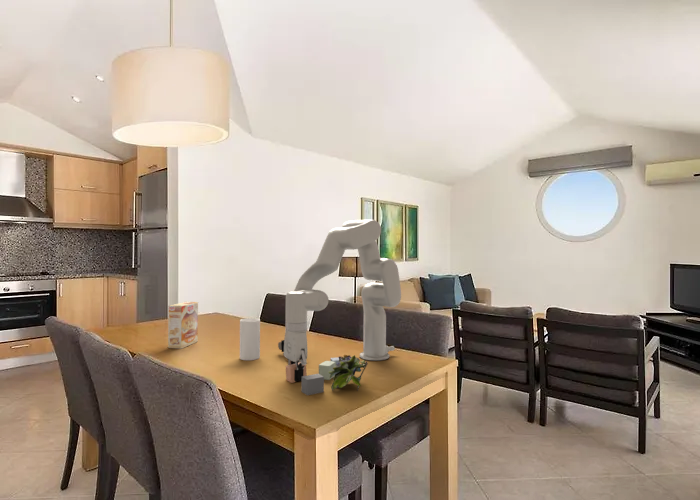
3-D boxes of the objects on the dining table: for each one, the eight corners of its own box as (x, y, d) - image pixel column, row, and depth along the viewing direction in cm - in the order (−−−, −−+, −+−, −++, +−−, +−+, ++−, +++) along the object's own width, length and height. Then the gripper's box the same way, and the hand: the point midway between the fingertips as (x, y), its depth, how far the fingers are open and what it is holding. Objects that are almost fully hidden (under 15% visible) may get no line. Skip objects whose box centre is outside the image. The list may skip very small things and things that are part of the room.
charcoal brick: (317, 388, 140) (317, 373, 140) (323, 392, 137) (323, 376, 137) (301, 392, 137) (301, 376, 137) (307, 395, 134) (307, 379, 134)
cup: (263, 356, 180) (264, 318, 180) (251, 361, 173) (251, 321, 173) (248, 354, 184) (248, 317, 184) (235, 358, 176) (235, 320, 176)
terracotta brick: (301, 376, 153) (300, 362, 153) (306, 379, 149) (306, 364, 149) (286, 379, 149) (285, 365, 149) (291, 382, 146) (290, 368, 146)
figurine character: (277, 357, 185) (293, 361, 173) (276, 339, 186) (292, 341, 174) (291, 355, 189) (308, 358, 177) (290, 337, 190) (307, 339, 178)
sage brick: (325, 374, 156) (325, 360, 156) (335, 375, 155) (335, 361, 155) (318, 378, 151) (318, 364, 151) (328, 380, 149) (329, 366, 149)
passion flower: (343, 401, 146) (356, 364, 152) (367, 404, 137) (380, 365, 143) (317, 385, 140) (331, 348, 147) (340, 388, 131) (355, 347, 138)
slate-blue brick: (345, 370, 162) (346, 357, 162) (348, 373, 158) (348, 359, 158) (330, 371, 161) (330, 357, 160) (332, 374, 157) (332, 360, 157)
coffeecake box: (181, 348, 193) (181, 305, 193) (167, 348, 194) (167, 305, 194) (198, 341, 208) (198, 301, 208) (185, 341, 209) (185, 301, 209)
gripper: (276, 324, 154) (276, 374, 154) (297, 332, 140) (297, 387, 140) (295, 322, 158) (295, 371, 158) (317, 329, 144) (316, 383, 144)
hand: (295, 378), depth 149 cm, fingers closed on terracotta brick, 3 cm apart
